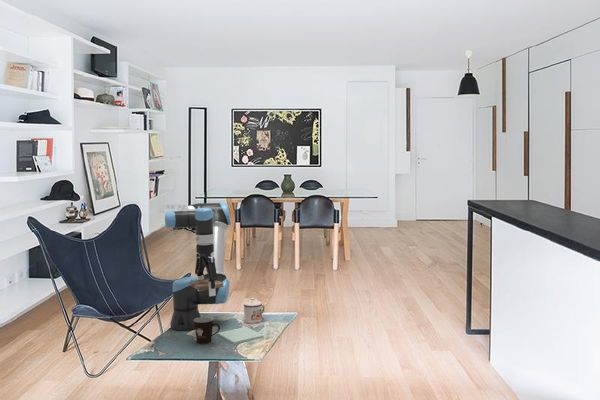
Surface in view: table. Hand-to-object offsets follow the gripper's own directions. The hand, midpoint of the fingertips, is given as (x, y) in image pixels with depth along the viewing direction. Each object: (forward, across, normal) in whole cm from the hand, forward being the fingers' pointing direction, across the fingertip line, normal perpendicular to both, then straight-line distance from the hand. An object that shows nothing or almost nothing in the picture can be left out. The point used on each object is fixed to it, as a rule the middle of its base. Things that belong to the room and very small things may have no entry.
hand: (206, 293), depth 257 cm
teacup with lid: (+22, -16, +33) cm, 43 cm away
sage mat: (+22, +2, +15) cm, 27 cm away
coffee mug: (+22, 0, -1) cm, 22 cm away
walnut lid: (-3, 0, 0) cm, 3 cm away
